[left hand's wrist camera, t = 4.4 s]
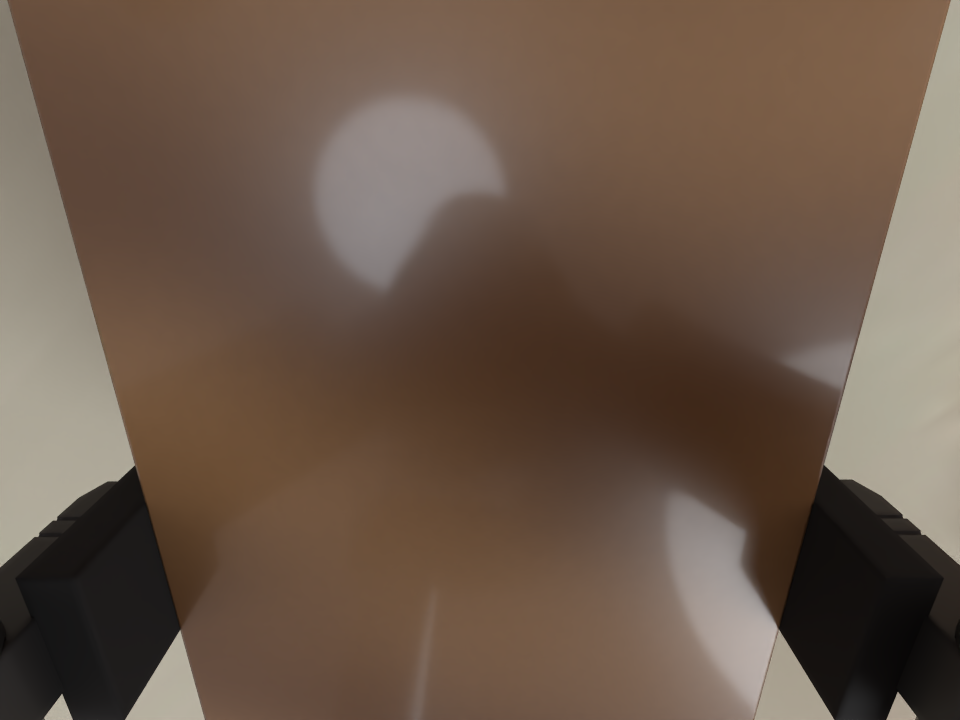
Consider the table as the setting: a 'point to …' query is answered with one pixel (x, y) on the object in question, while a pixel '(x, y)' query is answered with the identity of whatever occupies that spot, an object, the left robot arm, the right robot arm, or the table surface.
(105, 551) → the left robot arm
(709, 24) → the wooden box
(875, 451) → the table surface
